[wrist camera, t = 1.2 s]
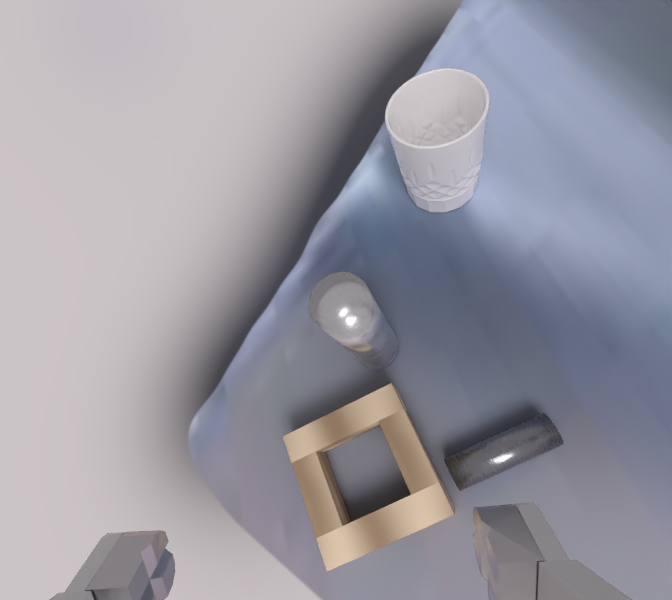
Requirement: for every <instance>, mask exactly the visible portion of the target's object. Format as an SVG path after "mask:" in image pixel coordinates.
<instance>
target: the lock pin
mask: <svg viewBox="0 0 672 600" xmlns="http://www.w3.org/2000/svg"><path fill="white" fill-rule="evenodd" d="M561 445H563V440H562V438H561V435H560V434H559V432H558V430H557V429H556V427H555V425H554V424H553V423H552V421H551V420H550V419H549V418H548V416H547V415H546V414H544V413H541V414H539V415H537V416H535V417H533V418H530V419H528V420H526V421H524V422H522V423H520V424H518V425H515V426H513V427H511V428H509V429H507V430H505V431H502V432H500V433H498V434H496V435H494V436H492V437H489V438H487V439H485V440H483V441H481V442H479V443H477V444H474V445H472V446H470V447H468V448H466V449H464V450H461V451H459V452H457V453H455V454H453V455H451V456H448V457H446V458H444V460H445V463H446V465H447V467H448V469H449V471H450V473H451V475H452V477H453V479H454V481H455V483H456V485H457V487H458V489H459V490H460V491H461V490H463V489H466V488H468V487H470V486H472V485H475V484H477V483H479V482H481V481H483V480H486V479H488V478H490V477H492V476H494V475H497V474H499V473H501V472H503V471H506V470H508V469H510V468H512V467H514V466H517V465H519V464H521V463H523V462H525V461H528V460H530V459H532V458H534V457H536V456H539V455H541V454H543V453H545V452H548V451H550V450H552V449H554V448H556V447H559V446H561Z"/></svg>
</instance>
